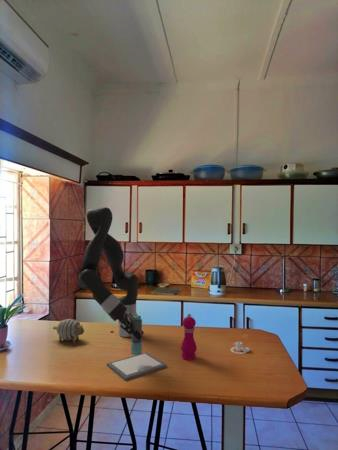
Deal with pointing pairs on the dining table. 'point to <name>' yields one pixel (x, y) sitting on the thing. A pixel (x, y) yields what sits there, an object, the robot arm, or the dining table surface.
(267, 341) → the dining table surface
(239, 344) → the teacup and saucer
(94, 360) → the dining table surface
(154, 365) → the grey flat block
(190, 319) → the pepper mill
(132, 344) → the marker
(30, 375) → the dining table surface
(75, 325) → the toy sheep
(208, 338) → the dining table surface
